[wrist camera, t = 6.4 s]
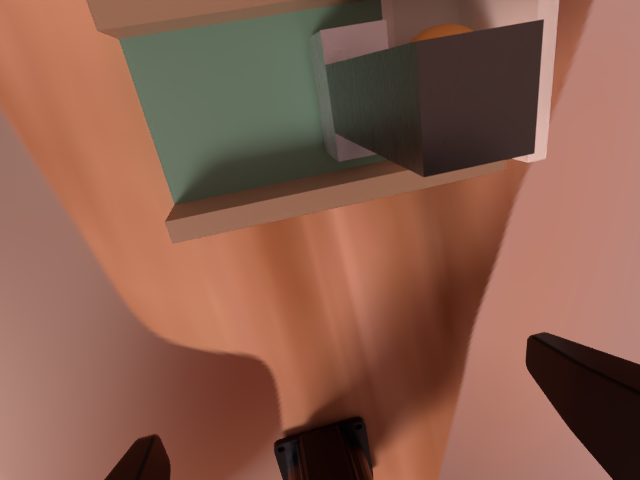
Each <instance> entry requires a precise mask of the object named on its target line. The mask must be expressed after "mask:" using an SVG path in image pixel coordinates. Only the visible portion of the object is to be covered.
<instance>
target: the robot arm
mask: <svg viewBox="0 0 640 480" xmlns="http://www.w3.org/2000/svg"><path fill="white" fill-rule="evenodd" d="M526 366H527V369H528V371H529V372H530V374H531V375H532V377H533V378H534V380H535V381H536V382H537V384H538V385H539V386H540V388H541V389H542V391H543V392H544V394H545V395H546V396H547V398H548V399H549V401H550V402H551V403H552V405H553V406H554V408H555V409H556V410H557V412H558V413H559V415H560V416H561V418H562V419H563V420H564V421H565V423H566V424H567V426H568V427H569V428H570V429H571V431H572V432H573V433H574V434H575V436H576V437H577V438H578V439H579V440H580V441H581V443H582V444H583V445H584V446H585V447H586V448H587V450H588V451H589V452H590V453H591V454H592V455H593V457H594V458H595V459H596V460H597V461H598V462H599V464H600V465H601V466H602V467H603V468H604V470H605V471H606V472H607V473H608V474H609V475H610V477H611V478H612V479H613V480H640V364H637V363H634V362H631V361H628V360H625V359H622V358H619V357H616V356H613V355H611V354H608V353H605V352H602V351H599V350H596V349H593V348H590V347H587V346H584V345H581V344H578V343H576V342H573V341H570V340H567V339H564V338H561V337H558V336H555V335H552V334H549V333H545V332H543V333H539V334H535V335H531V336H529V338H528V339H527V349H526ZM274 452H275V456H276V459H277V462H278V465H279V469H280V472H281V475H282V478H283V480H373V471H372V464H371V458H370V452H369V445H368V439H367V432H366V426H365V423H364V420H363V419H362V418H361V417H356V418H352V419H349V420H345V421H342V422H338V423H335V424H332V425H328V426H325V427H321V428H318V429H314V430H311V431H307V432H304V433H300V434H297V435H293V436H290V437H286V438H283V439H279V440H277V441H276V442H275V443H274ZM170 471H171V470H170V460H169V457H168V455H167V453H166V450H165V448H164V446H163V443H162V441H161V439H160V437H159V436H158V435H157V434H152V435H149V436H145V437H141V438H139V439H137V440H136V441H135V442H134V443H133V445H132V446H131V447H130V448H129V450H128V451H127V452H126V454H125V455H124V456H123V457H122V458H121V460H120V461H119V462H118V463H117V465H116V466H115V467H114V468H113V470H112V471H111V472H110V473H109V475H108V476H107V477H106V478H105V479H104V480H170Z"/></svg>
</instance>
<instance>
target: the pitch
mask: <svg viewBox="0 0 640 480" xmlns="http://www.w3.org/2000/svg"><path fill="white" fill-rule="evenodd" d="M87 3H88V6H89V9H90V12H91V15H92V17H93V20H94V23H95V26H96V29H97V31H99V32H102V33H104V34H107V35H110V36H112V37H115V38H117V39H119V40H120V43H121V46H122V49H123V52H124V55H125V58H126V61H127V64H128V67H129V70H130V73H131V76H132V79H133V82H134V85H135V88H136V91H137V94H138V97H139V100H140V103H141V106H142V109H143V112H144V115H145V118H146V121H147V124H148V127H149V130H150V133H151V136H152V139H153V142H154V144H155V147H156V150H157V153H158V156H159V159H160V162H161V165H162V168H163V171H164V174H165V177H166V180H167V183H168V186H169V189H170V192H171V195H172V198H173V201H174V204H175V205H174V207H173V209H172V210H171V212H170V214H169V216H168V217H167V219H166V221H165V224H166V226H167V229H168V232H169V235H170V238H171V240H172V243H173V244H174V243H178V242H183V241H187V240H192V239H196V238H201V237H205V236H210V235H215V234H219V233H224V232H228V231H233V230H237V229H242V228H246V227H251V226H255V225H260V224H264V223H269V222H274V221H278V220H283V219H287V218H292V217H296V216H301V215H305V214H310V213H314V212H319V211H324V210H328V209H333V208H337V207H342V206H346V205H351V204H355V203H360V202H364V201H369V200H373V199H378V198H383V197H387V196H392V195H396V194H401V193H405V192H410V191H414V190H419V189H423V188H428V187H433V186H437V185H442V184H446V183H451V182H455V181H460V180H464V179H469V178H473V177H478V176H482V175H487V174H492V173H496V172H501V171H505V160H502V161H498V162H493V163H488V164H484V165H479V166H474V167H470V168H465V169H461V170H456V171H451V172H447V173H442V174H438V175H433V176H428V177H422V176H420V175H418V174H416V173H414V172H412V171H410V170H408V169H406V168H404V167H402V166H400V165H398V164H396V163H394V162H392V161H390V160H388V159H386V158H384V157H382V156H380V155H378V154H375V155H370V156H365V157H360V158H355V159H350V160H345V161H341V162H338V161H337V160H336V159H335V158H333V157H332V156H331V155H329V154H328V153H327V152H325V145H324V139H323V132H322V126H321V119H320V113H319V107H318V100H317V94H316V87H315V81H314V74H313V68H312V61H311V55H310V48H309V42H308V39H309V38H310V37H312V36H313V35H314V34H316V33H317V32H319V31H320V30H325V29H331V28H337V27H343V26H349V25H355V24H361V23H368V22H374V21H380V20H386V22H387V35H388V48H393V47H396V46H400V45H404V44H408V43H409V42H410V41H411V40H412V39H413V38H414V37H415V36H417V35H418V34H419V33H421V32H423V31H424V30H426V29H428V28H431V27H433V26H437V25H442V24H457V25H462V26H465V27H467V28H469V29H471V30H473V31H479V30H484V29H490V28H496V27H502V26H508V25H513V24H519V23H525V22H531V21H537V20H542V19H544V26H543V40H542V54H541V68H540V82H539V96H538V110H537V124H536V138H535V152H534V154H530V155H525V156H521V157H516V158H512V159H515V160H519V161H523V162H527V163H529V162H534V161H538V160H542V159H546V152H547V141H548V129H549V117H550V105H551V94H552V82H553V70H554V58H555V46H556V34H557V22H558V10H559V0H87Z"/></svg>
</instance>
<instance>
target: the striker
mask: <svg viewBox="0 0 640 480" xmlns="http://www.w3.org/2000/svg"><path fill="white" fill-rule="evenodd" d="M543 26H544V19H542V20H537V21H531V22H525V23H519V24H513V25H508V26H502V27H496V28H490V29H484V30H479V31H473V32H467V33H461V34H455V35H450V36H444V37H438V38H432V39H426V40H421V41H416V42H412V43H408V44H404V45H400V46H396V47H393V48H388V35H387V22H386V20H380V21H374V22H368V23H361V24H355V25H349V26H343V27H337V28H331V29H325V30H320V31H319V32H317V33H316V34H314V35H313V36H312V37H310V38H309V39H308V42H309V48H310V55H311V61H312V68H313V74H314V81H315V87H316V94H317V100H318V107H319V113H320V119H321V126H322V132H323V139H324V145H325V152H327V153H328V154H329V155H331V156H332V157H333V158H335V159H336V160H337V161H338V162H341V161H345V160H350V159H355V158H360V157H365V156H370V155H375V154H378V155H380V156H382V157H384V158H386V159H388V160H390V161H392V162H394V163H396V164H398V165H400V166H402V167H404V168H406V169H408V170H410V171H412V172H414V173H416V174H418V175H420V176H422V177H428V176H433V175H438V174H442V173H447V172H451V171H456V170H461V169H465V168H470V167H474V166H479V165H484V164H488V163H493V162H498V161H502V160H507V159H511V158H516V157H521V156H525V155H530V154H534V152H535V138H536V124H537V110H538V96H539V82H540V68H541V54H542V40H543Z"/></svg>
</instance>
